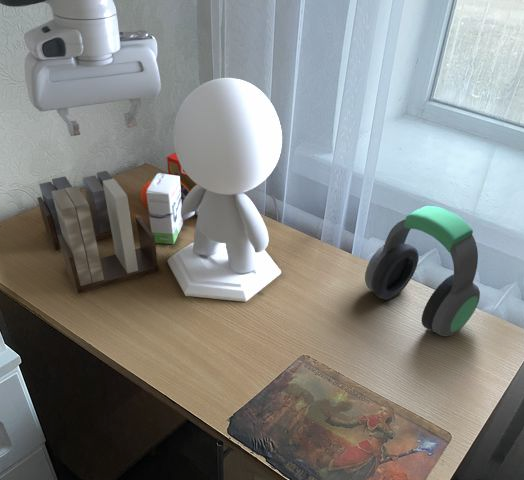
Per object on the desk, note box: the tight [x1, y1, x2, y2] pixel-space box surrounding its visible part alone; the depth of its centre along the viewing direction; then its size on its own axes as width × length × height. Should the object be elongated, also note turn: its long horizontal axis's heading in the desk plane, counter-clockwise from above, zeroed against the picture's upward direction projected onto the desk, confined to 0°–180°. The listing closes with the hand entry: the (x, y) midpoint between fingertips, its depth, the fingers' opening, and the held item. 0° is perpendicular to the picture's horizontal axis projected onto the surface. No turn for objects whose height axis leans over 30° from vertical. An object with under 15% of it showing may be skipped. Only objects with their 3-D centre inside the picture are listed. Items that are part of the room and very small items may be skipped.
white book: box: [103, 178, 138, 273], centre depth 100 cm, size 2×7×16 cm, turn 30°
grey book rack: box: [36, 170, 114, 251], centre depth 111 cm, size 16×8×12 cm, turn 120°
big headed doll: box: [167, 77, 283, 303], centre depth 95 cm, size 20×23×35 cm
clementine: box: [140, 177, 155, 209], centre depth 121 cm, size 8×7×7 cm
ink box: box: [146, 172, 184, 245], centre depth 112 cm, size 9×5×12 cm, turn 173°
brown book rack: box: [51, 185, 159, 294], centre depth 100 cm, size 16×8×17 cm, turn 120°
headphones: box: [364, 205, 481, 337], centre depth 93 cm, size 19×11×20 cm, turn 40°
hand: (103, 129), depth 88 cm, fingers open, 8 cm apart
